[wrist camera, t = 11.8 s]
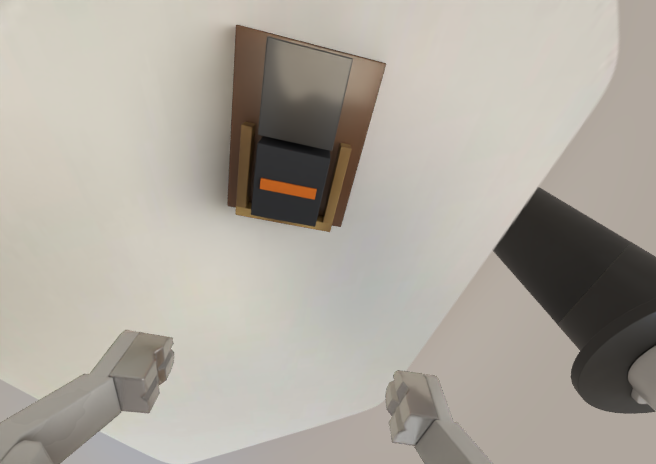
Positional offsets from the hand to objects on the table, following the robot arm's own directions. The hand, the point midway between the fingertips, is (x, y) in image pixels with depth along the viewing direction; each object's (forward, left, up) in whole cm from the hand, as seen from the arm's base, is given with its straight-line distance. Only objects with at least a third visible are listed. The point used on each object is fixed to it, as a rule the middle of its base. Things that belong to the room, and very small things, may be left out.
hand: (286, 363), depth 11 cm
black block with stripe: (+2, -1, -16) cm, 16 cm away
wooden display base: (+2, -4, -17) cm, 17 cm away
